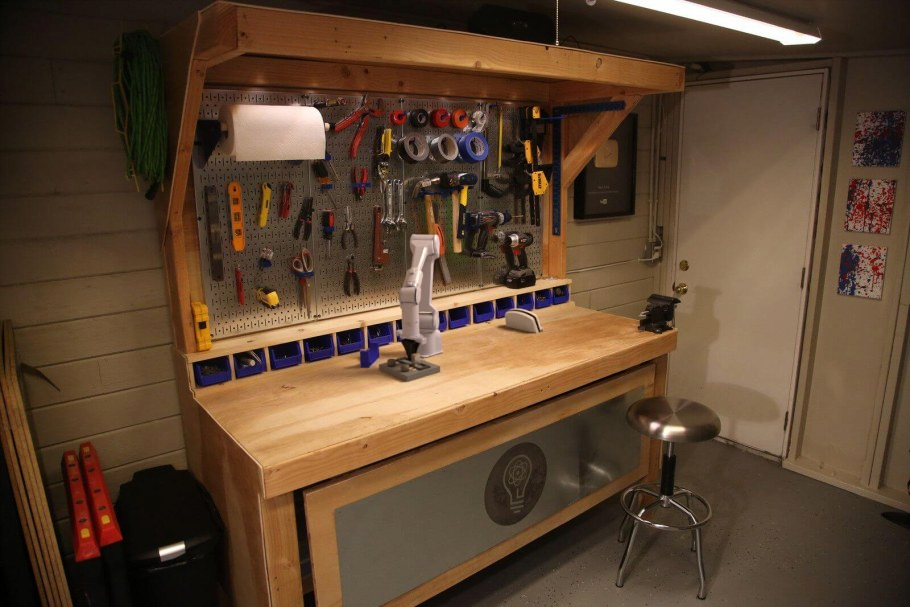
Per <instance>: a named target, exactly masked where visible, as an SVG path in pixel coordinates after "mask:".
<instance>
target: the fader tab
mask: <svg viewBox="0 0 910 607" xmlns="http://www.w3.org/2000/svg"><path fill="white" fill-rule="evenodd" d="M421 359H422V357H420V354H419V353H414V354H411V364H412V365H414V366H419V365H421Z"/></svg>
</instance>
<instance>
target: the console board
mask: <svg viewBox="0 0 910 607" xmlns="http://www.w3.org/2000/svg"><path fill="white" fill-rule="evenodd" d="M378 370H379V371H381V372H383V373H386V374H388V375H391V376H393V377H396V378H398V379H400V380H402V381H405V382H406V383H409V382H412V381H415V380H418V379H421V378H424V377H428V376H430V375H435V374H438V373H440V372H441V365H438V364H435V363H432V362H430V361H427V360H425V359H422V358H421V365H419V366H414V365H412V364H411V361H409V360H408V358H407V356H401V357H398V358H396V359H395V358H387V361H386V362H383V363H382V362H381V363H379V364H378Z"/></svg>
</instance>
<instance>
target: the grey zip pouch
mask: <svg viewBox="0 0 910 607" xmlns="http://www.w3.org/2000/svg"><path fill="white" fill-rule="evenodd" d="M504 319H505V320H504V321H505V326H506V327H507V328H511V329H514V330H515V329H516V330H521V331H525V332H529V333H534V334H539V331H540V332H541V331H542V332H544V327H543V326H541V323H540V320H539V316H538V315H537V314H536V313H534V312H532V311H529V310H527V309H523V308H511V309H509V310H507V311H506V312H505V313H504Z"/></svg>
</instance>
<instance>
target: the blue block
mask: <svg viewBox="0 0 910 607" xmlns="http://www.w3.org/2000/svg"><path fill="white" fill-rule="evenodd" d="M379 358H380V342H379V341H369V348H367V349H361V350H360V351H359V360H360V368H363V369H364V368H366V369H370V367H371V366H372V365H373V364H375V362H377V360H378V359H379Z"/></svg>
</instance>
